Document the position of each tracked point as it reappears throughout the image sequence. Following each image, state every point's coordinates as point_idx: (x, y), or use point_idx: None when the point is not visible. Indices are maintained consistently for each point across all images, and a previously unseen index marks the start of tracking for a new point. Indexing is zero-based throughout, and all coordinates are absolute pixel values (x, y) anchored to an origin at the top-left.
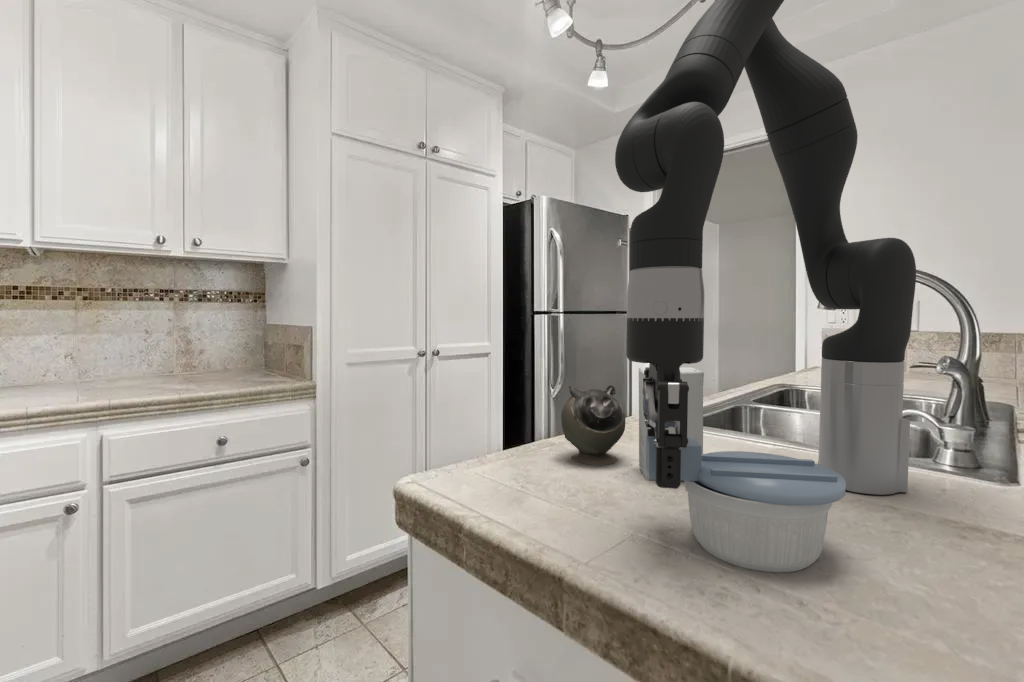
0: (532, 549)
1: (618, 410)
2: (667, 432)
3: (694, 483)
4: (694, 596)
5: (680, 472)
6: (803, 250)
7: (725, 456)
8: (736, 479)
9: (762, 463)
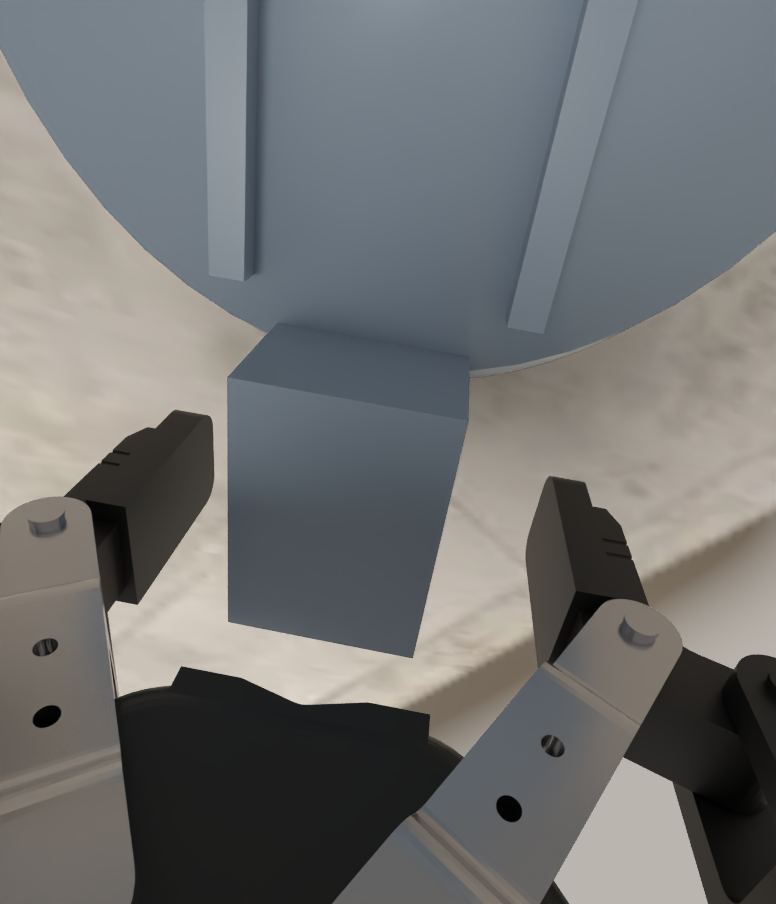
0: (462, 658)
1: None
2: (133, 508)
3: (481, 372)
4: (746, 377)
5: (593, 516)
6: None
7: (230, 112)
8: (633, 208)
9: None
